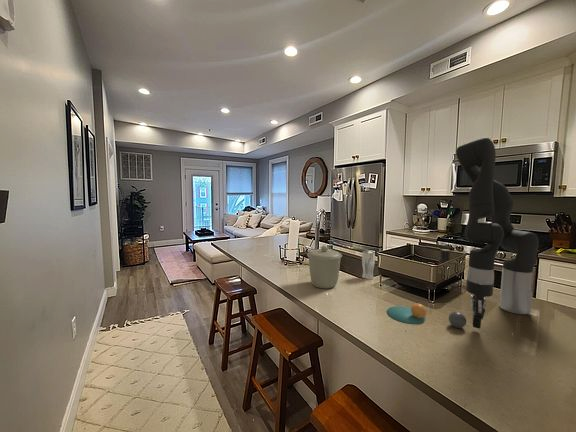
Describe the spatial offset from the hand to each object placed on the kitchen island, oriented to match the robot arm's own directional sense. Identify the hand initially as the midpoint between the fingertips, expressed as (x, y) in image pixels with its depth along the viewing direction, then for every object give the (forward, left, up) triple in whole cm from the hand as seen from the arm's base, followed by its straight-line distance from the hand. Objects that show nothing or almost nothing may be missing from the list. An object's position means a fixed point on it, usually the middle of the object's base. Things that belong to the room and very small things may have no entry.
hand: (476, 326), depth 91 cm
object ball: (+18, 0, +1) cm, 18 cm away
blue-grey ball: (+6, 0, +1) cm, 6 cm away
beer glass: (+47, -36, -2) cm, 59 cm away
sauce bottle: (+10, -40, -2) cm, 41 cm away
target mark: (+23, 0, -2) cm, 23 cm away
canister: (+64, -13, -2) cm, 65 cm away
